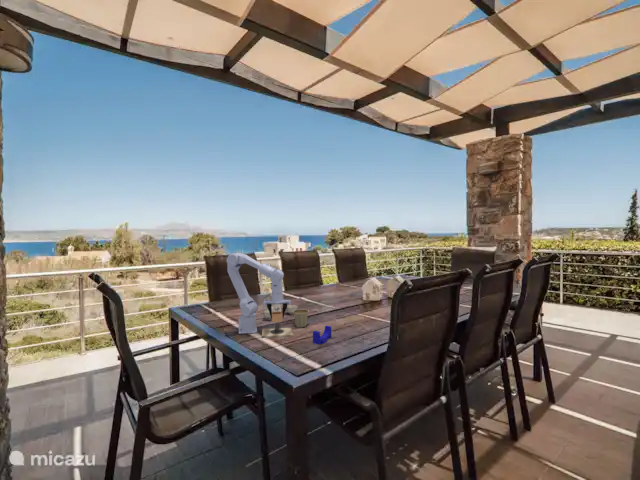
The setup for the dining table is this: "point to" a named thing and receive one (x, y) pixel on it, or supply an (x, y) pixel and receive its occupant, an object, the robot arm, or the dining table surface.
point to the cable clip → (324, 337)
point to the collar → (277, 317)
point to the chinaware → (279, 308)
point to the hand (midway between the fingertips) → (277, 317)
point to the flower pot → (301, 317)
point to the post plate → (277, 332)
